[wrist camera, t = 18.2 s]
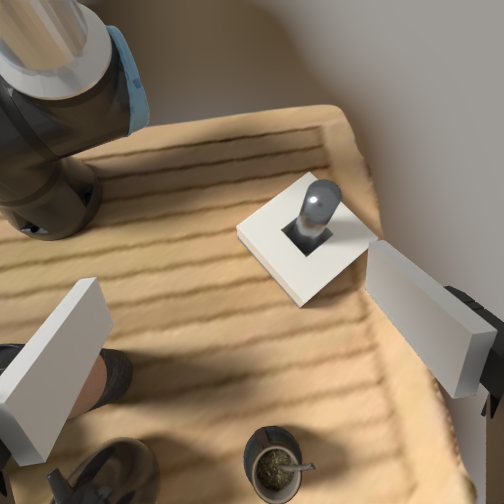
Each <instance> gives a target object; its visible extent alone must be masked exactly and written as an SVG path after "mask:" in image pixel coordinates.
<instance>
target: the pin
mask: <svg viewBox="0 0 504 504" xmlns="http://www.w3.org/2000/svg"><path fill="white" fill-rule="evenodd" d="M341 198H342V194H341V191H340V189H339V187H338V186H337V185H336V184H335V183H333V182H332V181H329V180H317V181H314V182H313V183H311V184H310V185H309V187H308V189H307V192H306V195H305V198H304V201H303V204H302V207H301V210H300V213H299V216H298V219H297V222H296V225H295V228H294V231H293V234H292V237H291V241H292V243H293V244H294V245H295V246H296V247H297V248H298V249H299V250H300V251H301V252H302V253H303V254H306V253H309V252H311V251H312V250H313V249H314V247H315V245H316V243H317V242H318V240H319V238H320V236H321V235H322V233H323V231H324V229H325V228H326V226H327V224H328V223H329V221H330V219H331V217H332V216H333V214H334V212H335V210H336V209H337V207H338V205H339V204H340V202H341Z"/></svg>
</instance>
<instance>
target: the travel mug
mask: <svg viewBox="0 0 504 504" xmlns="http://www.w3.org/2000/svg"><path fill="white" fill-rule="evenodd" d="M24 345H26V344H0V363H1V362H2V361H3V360H4V359H5V357H7V356H8V355H9V354H11V353H12V352H13V351H14V350H16V349H17V348H18V347H20V346H24ZM131 379H132V366H131V363H130V361H129V359H128V358H127V356H126V355H124V354H123V353H122V352H120V351H117V350H113V349H104V348H102V349H101V351H100V353H99V355H98V357H97V359H96V361H95V363H94V365H93V367H92V369H91V371H90V373H89V375H88V377H87V379H86V381H85V383H84V385H83V387H82V389H81V391H80V393H79V395H78V397H77V399H76V401H75V403H74V405H73V407H72V409H71V411H70V413H69V415H68V418H67V419H70V418H73V417H76V416H79V415H82V414H84V413H87V412H89V411H91V410H94V409H96V408H99V407H101V406H103V405H106V404H108V403H110V402H113V401H115V400H116V399H118V398H119V397H121V396H122V395H123V394H124V393H125V391H126V390H127V388H128V387H129V385H130V382H131Z"/></svg>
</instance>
